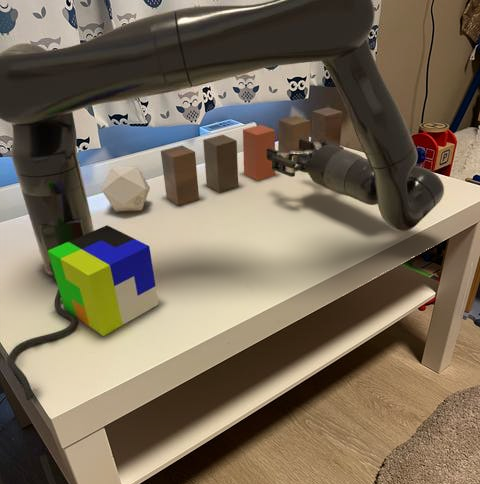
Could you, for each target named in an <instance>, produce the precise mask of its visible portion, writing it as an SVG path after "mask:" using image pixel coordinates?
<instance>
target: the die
mask: <svg viewBox="0 0 480 484" xmlns="http://www.w3.org/2000/svg"><path fill="white" fill-rule="evenodd" d="M150 189H151V187H150V185H149V183H148V181H147V180H146V178H145V176H144V175H143V173H142V171H141V169H140V168H139V166H117V167H116V166H115V167H113V166H112V167H110V169H109V171H108V174H107V176H106V179H105V181H104V184H103V187H102V190H101V192H102V194H103V195H104V196H105V198H106V199H107V201H108V202H109V204H110V206H111V208H113V210H114V211H115V213H119V212H140V211H141V212H142V211H143V210H144V209H143V208H144V206H145V203H146V200H147V198H148V195H149V192H150Z"/></svg>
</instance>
